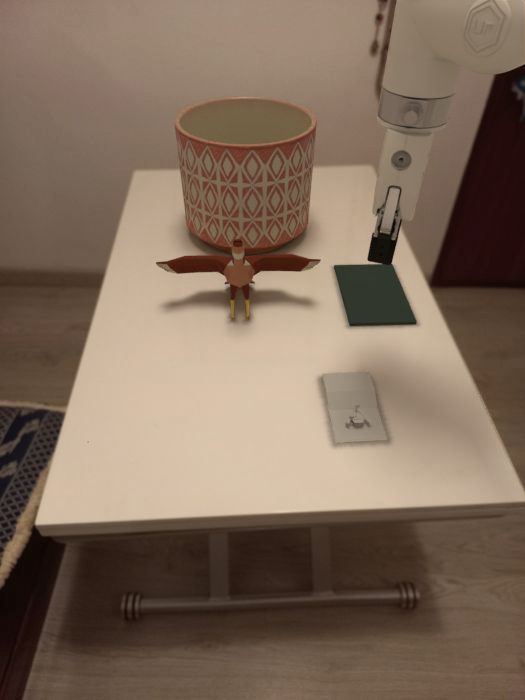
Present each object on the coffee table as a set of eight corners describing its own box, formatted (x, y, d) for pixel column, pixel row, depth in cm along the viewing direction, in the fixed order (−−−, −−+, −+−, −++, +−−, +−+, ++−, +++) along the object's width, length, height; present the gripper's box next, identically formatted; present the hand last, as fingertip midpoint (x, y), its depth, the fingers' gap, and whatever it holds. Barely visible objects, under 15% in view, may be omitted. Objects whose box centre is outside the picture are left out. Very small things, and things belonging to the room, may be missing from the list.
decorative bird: (152, 334, 75) (143, 240, 69) (169, 303, 92) (162, 225, 86) (326, 330, 76) (330, 237, 70) (310, 300, 93) (313, 223, 87)
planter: (297, 269, 94) (306, 152, 78) (170, 253, 98) (152, 138, 82) (314, 206, 113) (324, 101, 97) (207, 194, 117) (199, 91, 101)
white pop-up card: (367, 376, 74) (370, 365, 72) (387, 440, 65) (391, 429, 63) (321, 379, 73) (323, 368, 72) (335, 442, 65) (337, 432, 63)
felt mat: (391, 266, 95) (392, 263, 95) (416, 324, 83) (417, 321, 82) (334, 267, 95) (334, 264, 95) (349, 325, 82) (350, 323, 82)
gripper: (446, 139, 43) (403, 294, 56) (453, 88, 54) (415, 227, 67) (366, 129, 45) (342, 282, 58) (388, 81, 56) (364, 219, 69)
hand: (381, 251), depth 62 cm, fingers open, 3 cm apart
